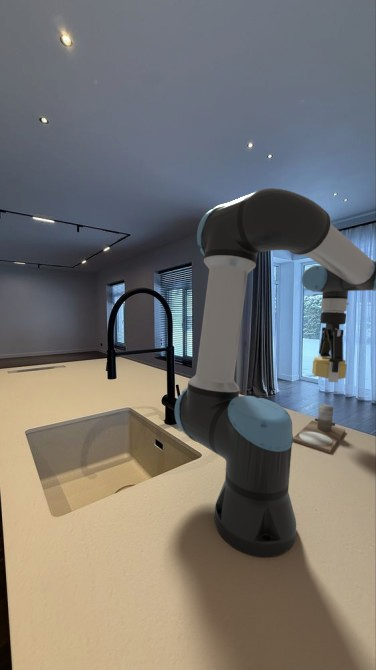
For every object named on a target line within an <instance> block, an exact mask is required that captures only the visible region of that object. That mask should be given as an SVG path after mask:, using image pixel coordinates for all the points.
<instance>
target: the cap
mask: <svg viewBox="0 0 376 670" xmlns="http://www.w3.org/2000/svg"><path fill="white" fill-rule="evenodd" d="M330 359H331V357H322V356H314V359H313V360H312V370H311V372H312V374H313V375H314V376H315V377H320V378H324V379H328V377H329V365H330V362H329V360H330ZM346 361H347V360H346V359H343V361H341V362H340V364H339V376H338V380H342V379H346V375H347V363H346Z"/></svg>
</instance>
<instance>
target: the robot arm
mask: <svg viewBox="0 0 376 670" xmlns="http://www.w3.org/2000/svg"><path fill="white" fill-rule="evenodd" d="M196 241H197V245H198V246H199V247H200V248H199V250H200V253H201V254H202V255H203V263H204V264H205V266H206V267H207V268H208V270H209V271H208V278H207V286H206V293H205V301H204V308H203V316H202V317H203V318H202V325H201V326H202V327H201V333H200V341H199V349H198V356H197V363H196V370H195V375H194V376H193V377H191V378H190V379H189V380H188V383H187V387H185V388H184V389H183V390H182V391H181V394H180V395H178V397H177V398H176V401H175V405H174V419H175V423H176V425H177V426H178V428H179V430H180V431H181V433H182V432H183V433H184V435H186V436H187V437H188V438H189V439H191V441H194V442H197V443H199V444H200V445H202V446H203V447H205V448H207V449H208V450H210V451H211V452H213V453H215V454H217V456H220V457H221V458H222V459H224V460H225V476H224V477H225V479H224V482H223V485H222V487H221V489H220V492H219V495H218V496H217V499H216V502H215V505H214V506H215V507H214V518H213V519H214V525H215V527H216V530H217V532H218V534H219V535H220V536H221V538H222V539H223V540H224V541H225V542H226V543H227V544H229V545H230V546H231V547H233V548H234V549H236V550H238V551H240V552H242V553H244V554H247V555H251V556H255V557H265V558H266V557H267V558H269V557H276V556H277V557H278V556H280V555H282V554H284V553H286V552H287V551H289V550H290V549H291V548H292V547H293V545H294V543H295V541H296V537H297V535H296V534H297V519H296V516H295V511H294V508H293V504H292V500H291V497H290V492H289V486H290V475H291V474H290V473H291V459H292V448H293V443H294V442H293V437H294V435H293V420H292V417H291V415H290V414H289V412H288V411H287V410H286V409H285V408H284V407H283V406H282V405H280V404H278V403H276V402H274V401H272V400H269V399H266V398H263V397H256V396H253V395H239V394H240V387H239V385H238V384H237V383H236V382H235V373H236V365H237V359H238V358H237V356H238V349H239V342H240V337H241V336H240V335H241V326H242V318H243V311H244V303H245V297H246V289H247V281H248V274H249V273H251V271H252V270H254V269H255V268H256V265H257V260H258V259H257V258H258V254H260V253H266V252H270V251H288V252H290V253H292V254H293V255H297V256H304V255H305V256H306V257H307V258H309V259H311V260H312V261H314V262H315V263H317V264H318V265H311V266H309V267H307V268H306V269H305V270H304V272H303V273H302V276H301V282H302V286H303V287H304V288H305V289H306V290H308V291H311V292H318V293H322V297H321V298H322V299H321V305H320V306H321V307H320V311H322V312H321V313H320V318H319V319H320V324H324V325H325V327H322V329H321V338H320V344H319V350H318V353H319V357H331V359H330V360H329V362H330V365H329V377H328V378H327V379H328V380H327V382H329V383H339V379H338V376H339V364H340V362H341V361H343V360H344V329H341V328H340V325H345V324H346V322H347V314H346V311H347V309H348V305H350V304H349V302H348V298H349V297H348V296H349V292H354V291H355V292H357V291H358V292H359V291H365V292H366V291H373V292H375V291H376V261H374V260H372V258H370V257H369V256H368V255H367V254H366V253H365V252H364V251H362V249H360V248H359V247H358V246H357V245H355V243H353V242H352V241H351V240H350V239H349V238H347V236H345V235H344V234H343V233H342V232H341V231H340V230H339V229H337V228H336V227H335V226H334V225H333V224H332V219H331V216H330V214H329V213H328V211H326V210H325V209H324V208H323V207H322V206H321V205H319V203H317V202H315V201H314V200H312V199H310V198H308V197H306V196H304V195H301V194H299V193H297V192H293V191H291V190H287V189H283V188H273V187H272V188H270V187H269V188H263V189H259V190H256V191H254V192H252V193H250V194H247V195H245V196H241V197H240V198H238V199H235V200H232V201H230V202H224V203H222V204H218V205H217V206H215V207H213V209H210V210H209V211H207V212H206V213H205V214H204V215H203V217H202V218H201V219H200V221H199V224H198V227H197V231H196Z"/></svg>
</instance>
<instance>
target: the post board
mask: <svg viewBox="0 0 376 670" xmlns="http://www.w3.org/2000/svg"><path fill="white" fill-rule="evenodd" d="M333 413H334V406H333V405H329V404H323V403H321V404H319V405H318V416H317V418H316V417H315V418H314V420H311V421H310V422H309V423H308V424H307V425H305V426H304V427H303V428H302V429H301V430H300V431H299V432H298V433H297V434H295V435H293V443H297V444H300V445H303V446H306V447H308V448H312V449H315V450H319V451H321V452H324V453H328V454H331V453H332V452H333V450H334V449H335V448H336V445H338V443H339V442H340V440H341V439H342V437H344V434H345V433H346V429H344V428H341V427H338V426H336V423H335V422H333V415H334V414H333Z"/></svg>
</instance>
